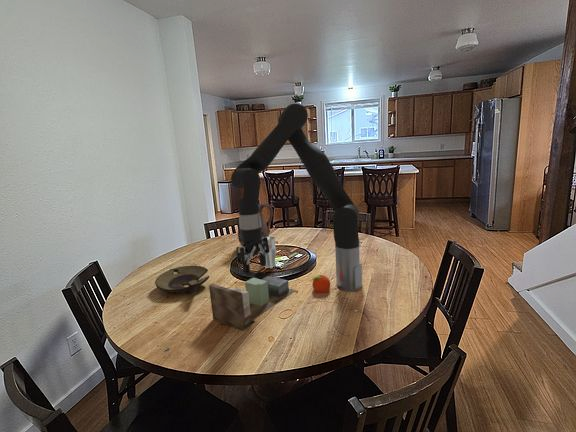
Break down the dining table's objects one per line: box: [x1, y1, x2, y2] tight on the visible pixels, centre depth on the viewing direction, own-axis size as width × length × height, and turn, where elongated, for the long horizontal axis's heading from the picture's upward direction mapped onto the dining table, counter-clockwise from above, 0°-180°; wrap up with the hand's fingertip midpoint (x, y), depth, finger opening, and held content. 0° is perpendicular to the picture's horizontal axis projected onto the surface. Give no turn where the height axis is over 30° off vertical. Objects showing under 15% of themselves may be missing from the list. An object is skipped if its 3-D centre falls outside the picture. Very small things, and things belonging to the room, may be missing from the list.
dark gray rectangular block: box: [261, 275, 290, 298], centre depth 124 cm, size 10×6×4 cm, turn 53°
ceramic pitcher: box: [237, 203, 274, 247], centre depth 182 cm, size 18×21×25 cm
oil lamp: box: [154, 265, 210, 293], centre depth 135 cm, size 22×30×8 cm
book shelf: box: [208, 283, 297, 332], centre depth 116 cm, size 14×30×13 cm, turn 143°
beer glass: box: [263, 236, 277, 269], centre depth 150 cm, size 7×7×15 cm
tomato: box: [310, 274, 331, 294], centre depth 123 cm, size 8×7×7 cm
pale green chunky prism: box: [244, 277, 269, 306], centre depth 116 cm, size 7×4×8 cm, turn 54°
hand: (255, 269), depth 113 cm, fingers open, 8 cm apart
